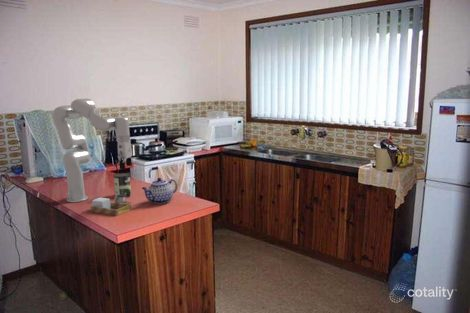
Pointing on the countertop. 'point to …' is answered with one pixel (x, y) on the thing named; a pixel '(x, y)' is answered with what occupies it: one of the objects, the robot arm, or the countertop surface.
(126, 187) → the coffee can
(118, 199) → the winch
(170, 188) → the teapot
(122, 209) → the bay
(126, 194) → the crank
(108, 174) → the countertop surface
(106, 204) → the white rectangular block
